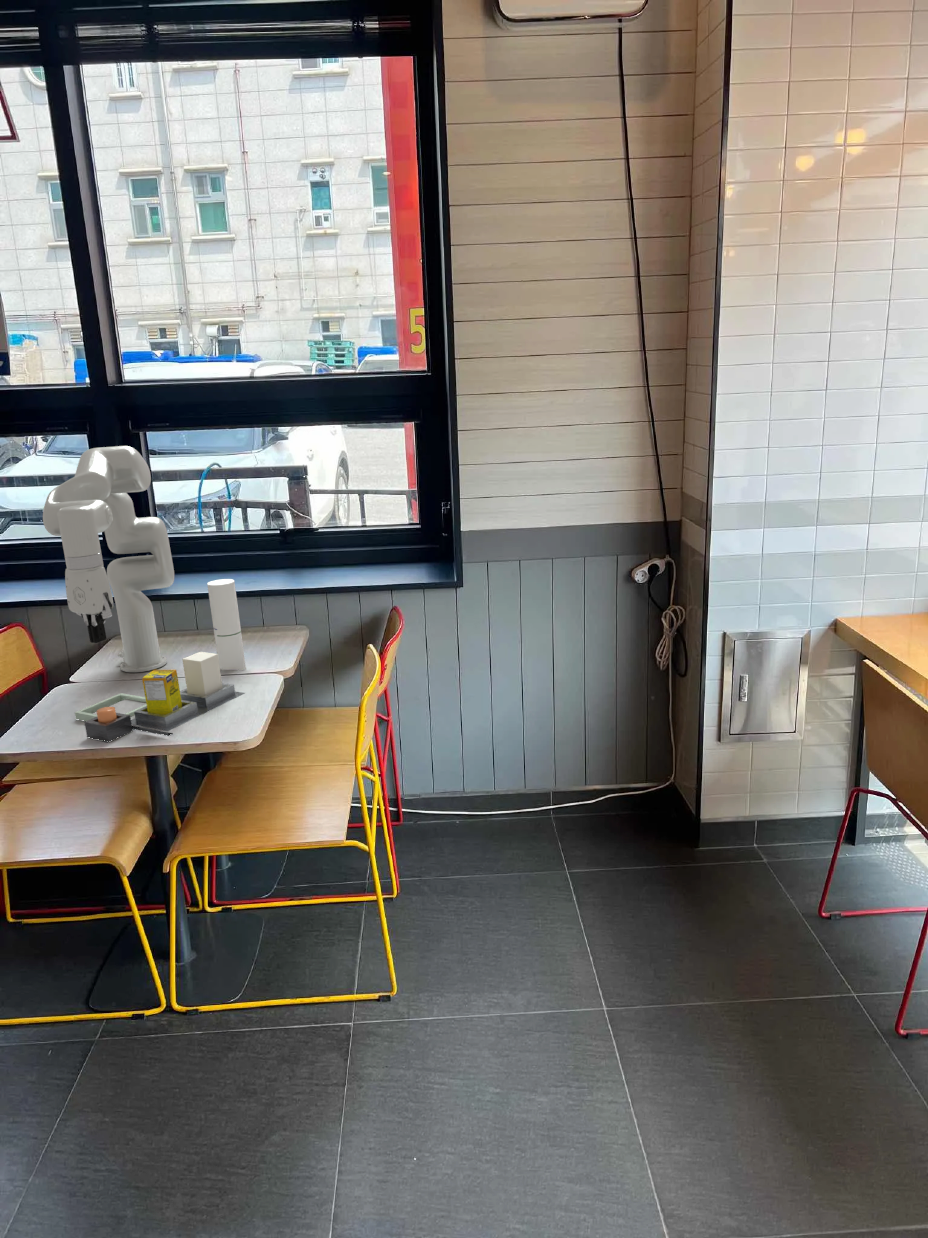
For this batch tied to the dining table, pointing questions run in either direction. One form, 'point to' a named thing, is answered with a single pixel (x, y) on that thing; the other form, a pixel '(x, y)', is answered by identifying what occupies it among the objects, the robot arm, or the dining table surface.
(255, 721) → the dining table surface
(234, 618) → the cylindrical container
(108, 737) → the button housing
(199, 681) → the block
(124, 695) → the frame
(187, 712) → the grey open box
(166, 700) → the supplement box
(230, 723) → the dining table surface
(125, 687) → the dining table surface
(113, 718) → the button
